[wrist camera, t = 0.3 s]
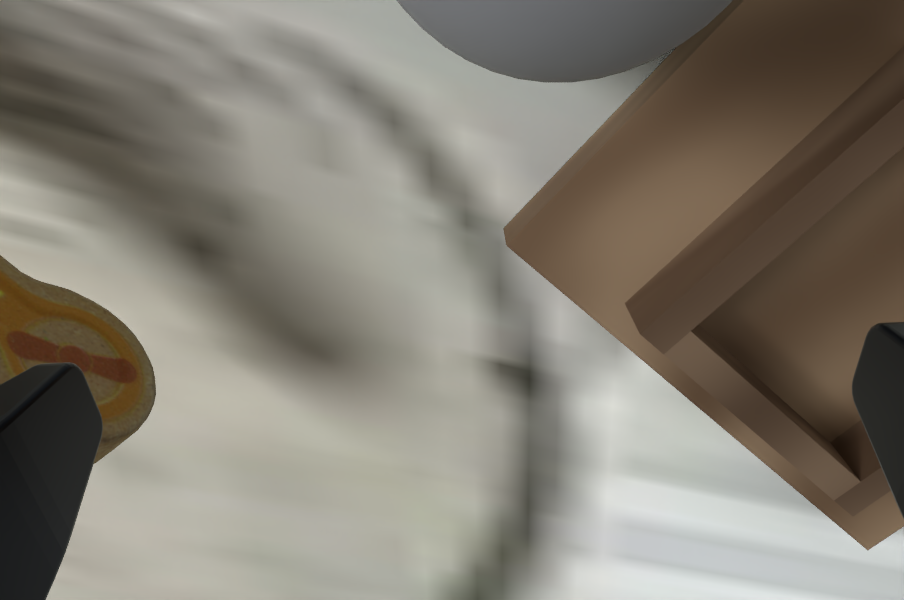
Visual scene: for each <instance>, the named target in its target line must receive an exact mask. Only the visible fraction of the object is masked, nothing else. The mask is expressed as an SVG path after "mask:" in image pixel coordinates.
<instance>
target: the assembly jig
mask: <svg viewBox="0 0 904 600" xmlns="http://www.w3.org/2000/svg"><path fill="white" fill-rule="evenodd" d="M504 234H505V240H506V246H508V247H509V248H510V249H511V250H512V251H514V252H515V253H516V254H517V255H518V256H520V257H521V258H522V259H523V260H524V261H525V262H527V263H528V264H529V265H530V266H531V267H533V268H534V269H535V270H536V271H537V272H538V273H540V274H541V275H542V276H543V277H544V278H546V279H547V280H548V281H549V282H550V283H552V284H553V285H554V286H555V287H556V288H557V289H559V290H560V291H561V292H562V293H563V294H565V295H566V296H567V297H568V298H569V299H570V300H572V301H573V302H574V303H575V304H576V305H578V306H579V307H580V308H581V309H582V310H584V311H585V312H586V313H587V314H588V315H589V316H591V317H592V318H593V319H594V320H595V321H597V322H598V323H599V324H600V325H601V326H602V327H604V328H605V329H606V330H607V331H608V332H610V333H611V334H612V335H613V336H614V337H616V338H617V339H618V340H619V341H620V342H621V343H623V344H624V345H625V346H626V347H627V348H629V349H630V350H631V351H632V352H633V353H634V354H636V355H637V356H638V357H639V358H640V359H642V360H643V361H644V362H645V363H646V364H648V365H649V366H650V367H651V368H652V369H653V370H655V371H656V372H657V373H658V374H659V375H661V376H662V377H663V378H664V379H665V380H666V381H668V382H669V383H670V384H671V385H672V386H674V387H675V388H676V389H677V390H678V391H680V392H681V393H682V394H683V395H684V396H685V397H687V398H688V399H689V400H690V401H691V402H693V403H694V404H695V405H696V406H697V407H698V408H700V409H701V410H702V411H703V412H704V413H706V414H707V415H708V416H709V417H710V418H712V419H713V420H714V421H715V422H716V423H717V424H719V425H720V426H721V427H722V428H723V429H725V430H726V431H727V432H728V433H729V434H730V435H732V436H733V437H734V438H735V439H736V440H738V441H739V442H740V443H741V444H742V445H744V446H745V447H746V448H747V449H748V450H749V451H751V452H752V453H753V454H754V455H755V456H757V457H758V458H759V459H760V460H761V461H762V462H764V463H765V464H766V465H767V466H768V467H770V468H771V469H772V470H773V471H774V472H776V473H777V474H778V475H779V476H780V477H781V478H783V479H784V480H785V481H786V482H787V483H789V484H790V485H791V486H792V487H793V488H794V489H796V490H797V491H798V492H799V493H800V494H802V495H803V496H804V497H805V498H806V499H808V500H809V501H810V502H811V503H812V504H813V505H815V506H816V507H817V508H818V509H819V510H821V511H822V512H823V513H824V514H825V515H826V516H828V517H829V518H830V519H831V520H832V521H834V522H835V523H836V524H837V525H838V526H840V527H841V528H842V529H843V530H844V531H845V532H847V533H848V534H849V535H850V536H851V537H853V538H854V539H855V540H856V541H857V542H858V543H860V544H861V545H862V546H863V547H864V548H866V549H867V550H869V549H870V548H872V547H873V546H875V545H876V544H878V543H879V542H881V541H882V540H884V539H885V538H887V537H888V536H890V535H891V534H893V533H894V532H896V531H897V530H899V529H901V528H902V527H904V518H903V516H902V514H901V512H900V510H899V508H898V505H897V503H896V501H895V499H894V496H893V494H892V492H891V489H890V487H889V485H888V482H887V480H886V477H885V475H884V473H883V470H882V468H881V466H880V463H879V461H878V458H877V456H876V454H875V451H874V449H873V446H872V444H871V442H870V439H869V437H868V435H867V432H866V430H865V427H864V425H863V423H862V420H861V418H860V416H859V413H858V411H857V408H856V406H855V403H854V400H853V396H852V381H853V377H854V373H855V370H856V367H857V364H858V361H859V357H860V354H861V351H862V348H863V344H864V341H865V338H866V335H867V333H868V331H869V330H870V328H871V327H872V326H874V325H876V324H878V323H889V322H904V0H733V1H732V2H731V3H730V4H729V5H728V6H727V7H726V8H725V9H724V10H723V11H722V12H721V13H720V14H718V15H717V16H716V17H715V18H714V19H713V20H712V21H711V22H710V23H709V24H708V25H707V26H705V27H704V28H703V29H701V30H700V31H699V32H697V33H696V34H695V35H693V36H692V37H691V38H689V39H688V40H686V41H685V42H684V43H682V44H681V45H679V46H677V47H676V49H675V50H674V51H673V52H672V53H671V54H670V55H669V56H668V57H667V58H666V59H665V60H664V61H663V62H662V63H661V64H660V65H659V66H658V67H657V68H656V69H655V70H654V72H653V73H652V74H651V75H650V76H649V77H648V78H647V79H646V80H645V81H644V82H643V83H642V84H641V85H640V86H639V87H638V88H637V89H636V90H635V91H634V92H633V93H632V95H631V96H630V97H629V98H628V99H627V100H626V101H625V102H624V103H623V104H622V105H621V106H620V107H619V108H618V109H617V110H616V111H615V112H614V113H613V114H612V115H611V116H610V118H609V119H608V120H607V121H606V122H605V123H604V124H603V125H602V126H601V127H600V128H599V129H598V130H597V131H596V132H595V133H594V134H593V135H592V136H591V137H590V138H589V139H588V141H587V142H586V143H585V144H584V145H583V146H582V147H581V148H580V149H579V150H578V151H577V152H576V153H575V154H574V155H573V156H572V157H571V158H570V159H569V160H568V161H567V162H566V164H565V165H564V166H563V167H562V168H561V169H560V170H559V171H558V172H557V173H556V174H555V175H554V176H553V177H552V178H551V179H550V180H549V181H548V182H547V183H546V184H545V186H544V187H543V188H542V189H541V190H540V191H539V192H538V193H537V194H536V195H535V196H534V197H533V198H532V199H531V200H530V201H529V202H528V203H527V204H526V205H525V206H524V207H523V209H522V210H521V211H520V212H519V213H518V214H517V215H516V216H515V217H514V218H513V219H512V220H511V221H510V222H509V223H508V224H507V225H506V226H505V227H504Z"/></svg>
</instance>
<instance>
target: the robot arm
mask: <svg viewBox="0 0 904 600" xmlns="http://www.w3.org/2000/svg"><path fill="white" fill-rule="evenodd" d="M852 396H853V400H854V403H855V406H856V408H857V411H858V413H859V416H860V418H861V420H862V423H863V425H864V427H865V430H866V432H867V435H868V437H869V439H870V442H871V444H872V446H873V449H874V451H875V454H876V456H877V458H878V461H879V463H880V466H881V468H882V470H883V473H884V475H885V477H886V480H887V482H888V485H889V487H890V489H891V492H892V494H893V496H894V499H895V501H896V503H897V505H898V508H899V510H900V512H901V514H902V516H903V518H904V322H889V323H878V324H876V325H874V326H872V327H871V328H870V330H869V331H868V333H867V335H866V338H865V341H864V344H863V348H862V351H861V354H860V357H859V361H858V364H857V367H856V370H855V373H854V377H853V381H852ZM102 431H103V422H102V417H101V413H100V411H99V409H98V406H97V404H96V402H95V399H94V397H93V395H92V392H91V390H90V387H89V385H88V383H87V380H86V378H85V376H84V374H83V372H82V370H81V369H80V368H79V367H78V366H77V365H76V364H74V363H71V362H65V363H44V364H38V365H35V366H33V367H31V368H29V369H27V370H26V371H24V372H22V373H20V374H18V375H17V376H15V377H13V378H11V379H9V380H8V381H6V382H4V383H2V384H1V385H0V600H46V597H47V595H48V593H49V590H50V588H51V586H52V584H53V581H54V579H55V577H56V574H57V572H58V569H59V567H60V564H61V562H62V559H63V557H64V554H65V552H66V549H67V546H68V543H69V540H70V537H71V534H72V531H73V528H74V525H75V521H76V518H77V515H78V512H79V509H80V505H81V502H82V499H83V496H84V492H85V489H86V486H87V483H88V480H89V476H90V473H91V470H92V467H93V463H94V460H95V457H96V454H97V451H98V447H99V444H100V441H101V437H102Z"/></svg>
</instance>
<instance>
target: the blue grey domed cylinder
mask: <svg viewBox="0 0 904 600" xmlns="http://www.w3.org/2000/svg"><path fill="white" fill-rule="evenodd" d="M397 1H398V2H399V4H400V5H401V6H402V8H403V9H404V10H405V11H406V12H407V13H408V14H409V15H410V16H411V17H412V18H413V19H414V20H415V21H416V22H417V24H418V25H419V26H420V27H421V28H422V29H423V30H425V31H426V32H427V33H428V34H430V35H431V36H432V37H433V38H435V39H436V40H437V41H438V42H440V43H441V44H442V45H443V46H444V47H446V48H448V49H449V50H451V51H453V52H454V53H456V54H458V55H459V56H461V57H463V58H464V59H466V60H468V61H470V62H472V63H474V64H476V65H479V66H481V67H483V68H486V69H488V70H490V71H493V72H496V73H500V74H503V75H507V76H510V77H514V78H518V79H524V80H531V81H539V82H577V81H584V80H592V79H599V78H602V77H606V76H610V75H613V74H617V73H621V72H624V71H627V70H630V69H632V68H635V67H637V66H640V65H642V64H644V63H647V62H649V61H652V60H654V59H656V58H658V57H660V56H662V55H663V54H665V53H667V52H669V51H670V50H672V49H674V48H676V47H677V46H679V45H681V44H682V43H684V42H685V41H686V40H688V39H689V38H691V37H692V36H693V35H695V34H696V33H697V32H699V31H700V30H701V29H703V28H704V27H705V26H707V25H708V24H709V23H710V22H711V21H712V20H713V19H714V18H715V17H716V16H717V15H718V14H720V13H721V12H722V11H723V10H724V9H725V8H726V7H727V6H728V5H729V4H730V3H731V2H732V1H733V0H397Z"/></svg>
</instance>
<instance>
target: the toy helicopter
mask: <svg viewBox="0 0 904 600" xmlns="http://www.w3.org/2000/svg"><path fill="white" fill-rule="evenodd" d="M65 362H71V363H74V364H76V365H77V366H78V367H79V368H80V369H81V370H82V372H83V374H84V376H85V378H86V380H87V383H88V385H89V387H90V390H91V392H92V395H93V397H94V399H95V402H96V404H97V406H98V409H99V411H100V413H101V417H102V422H103V431H102V437H101V441H100V444H99V447H98V451H97V454H96V457H95V460H94V463H96V462H98V461H99V460H100V459H102V458H103V457H104V456H105V455H107V454H108V453H109V452H111V451H112V450H113V449H115V448H116V447H117V446H118V445H120V444H121V443H122V442H123V441H125V440H126V439H127V438H128V437H130V436H131V435H132V434H133V433H135V432H136V431H137V430H138V429H139V428H140V426H141V425H142V424H143V423H144V422H145V420H146V419H147V418H148V416H149V414H150V412H151V409H152V407H153V405H154V401H155V396H156V386H155V376H154V371H153V367H152V365H151V362H150V360H149V358H148V356H147V354H146V352H145V350H144V348H143V346H142V345H141V344H140V342H139V341H138V339H137V338H136V336H135V335H134V334H133V333H132V331H131V330H130V329H129V328H128V327H127V326H126V325H125V324H124V323H123V322H122V321H120V320H119V319H118V318H117V317H116V316H114V315H113V314H112V313H111V312H109V311H108V310H106V309H105V308H103V307H102V306H100V305H98V304H97V303H95V302H94V301H92V300H90V299H87V298H85V297H83V296H81V295H79V294H77V293H75V292H73V291H71V290H68V289H65V288H62V287H58V286H55V285H51V284H47V283H44V282H41V281H38V280H35V279H33V278H31V277H29V276H28V275H26V274H24V273H22V272H20V271H19V270H18V269H17V268H16V267H14V266H13V265H12V264H11V263H9V262H8V261H7V260H6V259H4V258H3V257H2V256H1V255H0V385H1V384H2V383H4V382H6V381H8V380H9V379H11V378H13V377H15V376H17V375H18V374H20V373H22V372H24V371H26V370H27V369H29V368H31V367H33V366H35V365H38V364H44V363H65ZM94 463H93V464H94Z"/></svg>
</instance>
